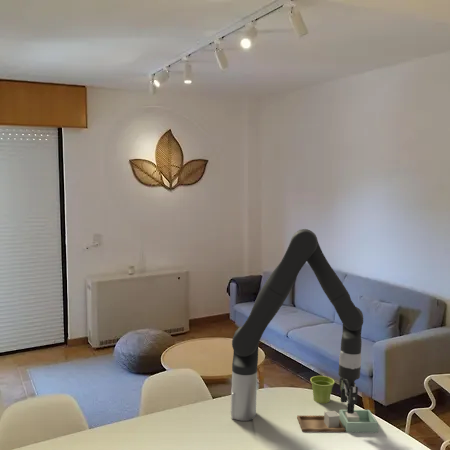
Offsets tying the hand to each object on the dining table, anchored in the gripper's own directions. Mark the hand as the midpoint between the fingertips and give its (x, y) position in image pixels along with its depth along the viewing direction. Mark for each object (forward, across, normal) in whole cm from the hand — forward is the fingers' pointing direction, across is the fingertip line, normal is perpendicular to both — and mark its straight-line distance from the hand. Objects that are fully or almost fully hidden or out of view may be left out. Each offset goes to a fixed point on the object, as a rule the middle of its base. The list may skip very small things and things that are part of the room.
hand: (346, 407), depth 183 cm
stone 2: (+6, 0, +2) cm, 7 cm away
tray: (+7, 0, -9) cm, 12 cm away
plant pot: (+8, -20, -4) cm, 22 cm away
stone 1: (+7, 0, -5) cm, 8 cm away
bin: (+7, 0, +4) cm, 8 cm away
